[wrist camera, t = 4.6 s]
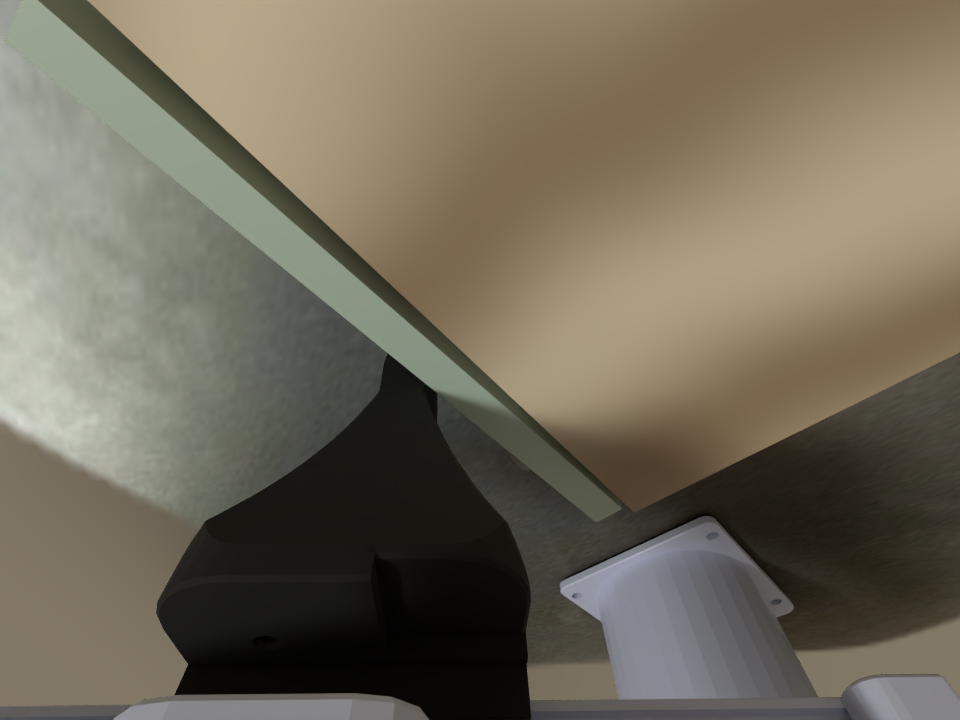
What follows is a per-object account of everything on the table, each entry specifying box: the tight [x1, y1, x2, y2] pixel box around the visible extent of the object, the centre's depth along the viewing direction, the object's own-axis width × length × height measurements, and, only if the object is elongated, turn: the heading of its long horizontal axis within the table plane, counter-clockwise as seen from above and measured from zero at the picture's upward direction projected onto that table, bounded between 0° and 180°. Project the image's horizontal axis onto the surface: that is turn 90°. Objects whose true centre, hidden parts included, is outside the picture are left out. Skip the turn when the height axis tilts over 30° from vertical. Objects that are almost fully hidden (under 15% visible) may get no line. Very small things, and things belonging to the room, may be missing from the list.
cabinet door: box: [4, 0, 622, 522], centre depth 11 cm, size 14×2×5 cm, turn 42°
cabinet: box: [87, 0, 960, 513], centre depth 9 cm, size 14×10×6 cm
